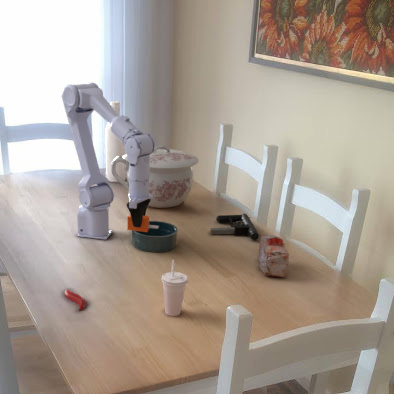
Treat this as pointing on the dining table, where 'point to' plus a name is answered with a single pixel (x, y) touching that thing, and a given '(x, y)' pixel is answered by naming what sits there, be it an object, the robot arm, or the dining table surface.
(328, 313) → the dining table surface
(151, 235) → the bowl
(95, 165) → the robot arm
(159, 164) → the chamber pot
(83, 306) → the cayenne pepper
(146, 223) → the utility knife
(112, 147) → the bottle
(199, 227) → the dining table surface
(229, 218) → the machine pistol
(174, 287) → the smoothie
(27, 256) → the dining table surface
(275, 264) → the food item
